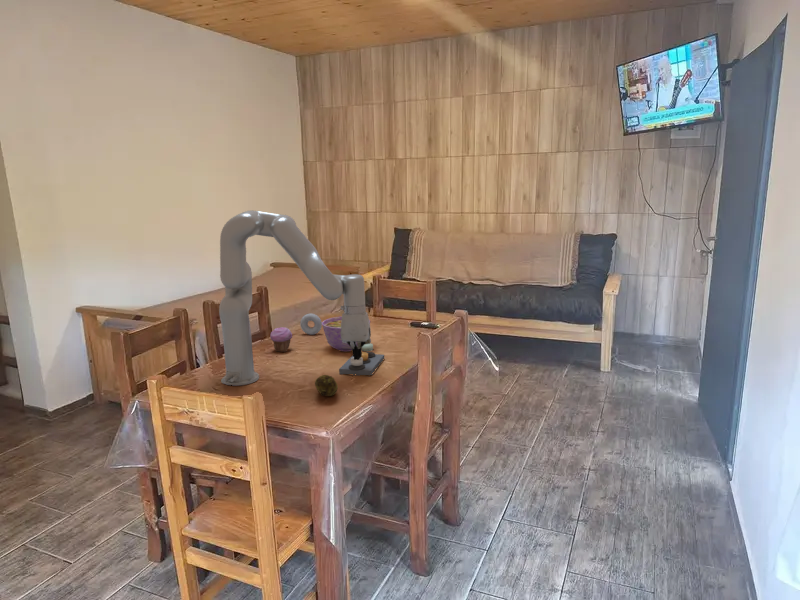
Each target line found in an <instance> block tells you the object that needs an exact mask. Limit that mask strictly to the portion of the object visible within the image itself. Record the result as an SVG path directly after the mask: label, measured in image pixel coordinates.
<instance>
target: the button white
mask: <svg viewBox="0 0 800 600" xmlns="http://www.w3.org/2000/svg"><path fill="white" fill-rule="evenodd" d="M351 357H352V356H351ZM351 357H350V358H351ZM362 364H363V358H362V357H361V358H360V359H359V360H357V359H356V360H354V357H352V358H351V365H353V366H359V365H362Z"/></svg>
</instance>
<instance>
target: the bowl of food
mask: <svg viewBox="0 0 800 600" xmlns="http://www.w3.org/2000/svg"><path fill="white" fill-rule="evenodd" d="M341 320H342V316H335V317H330V318H327V319H324V320H323V321H321V322H322V328H323V332H324V336H325V338H326V340H327V344H328V345H329V346H330V347H332V348H333V349H336V350H337V351H339V350H340V352H352V351H351V350H352V348H351V347H350V346H349V345H348V344H346V343H343V342H342V339H341ZM369 322H370V323H371V320H370V319H369ZM357 345H358V342H356V346H357Z"/></svg>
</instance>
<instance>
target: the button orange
mask: <svg viewBox="0 0 800 600" xmlns="http://www.w3.org/2000/svg"><path fill="white" fill-rule="evenodd" d="M366 352H367V351H362V356H361V357H362V358H363V361H366V360H368V353H366Z"/></svg>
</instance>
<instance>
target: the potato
mask: <svg viewBox="0 0 800 600" xmlns="http://www.w3.org/2000/svg"><path fill="white" fill-rule="evenodd" d="M314 386H315V388H316V390H317V392H319V394H320V395H321V396H325V397H331V396H332V397H333V396H334V395H336V393H337V392H338V384H337V381H336V379H335V378H334V377H333V376H332V375H331V376H330V375H328V374H324V375H323V374H322V375H320V376H319V377H317V378H316V379H315V380H314Z"/></svg>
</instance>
